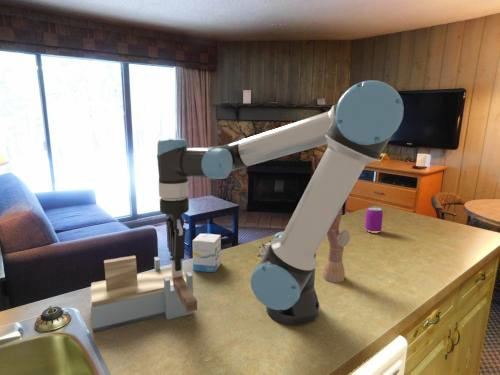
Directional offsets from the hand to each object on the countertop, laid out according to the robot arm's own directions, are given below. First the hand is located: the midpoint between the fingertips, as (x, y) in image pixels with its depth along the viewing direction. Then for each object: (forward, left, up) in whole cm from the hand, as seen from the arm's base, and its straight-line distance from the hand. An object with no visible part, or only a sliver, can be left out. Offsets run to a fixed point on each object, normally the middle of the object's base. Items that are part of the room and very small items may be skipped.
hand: (177, 279), depth 92 cm
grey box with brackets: (+6, +9, -10) cm, 15 cm away
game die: (+19, -40, -10) cm, 45 cm away
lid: (+6, +9, -3) cm, 11 cm away
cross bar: (-8, 0, -1) cm, 8 cm away
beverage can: (+29, -105, -10) cm, 109 cm away
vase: (-1, -54, -10) cm, 55 cm away
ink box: (+25, -17, -10) cm, 32 cm away
